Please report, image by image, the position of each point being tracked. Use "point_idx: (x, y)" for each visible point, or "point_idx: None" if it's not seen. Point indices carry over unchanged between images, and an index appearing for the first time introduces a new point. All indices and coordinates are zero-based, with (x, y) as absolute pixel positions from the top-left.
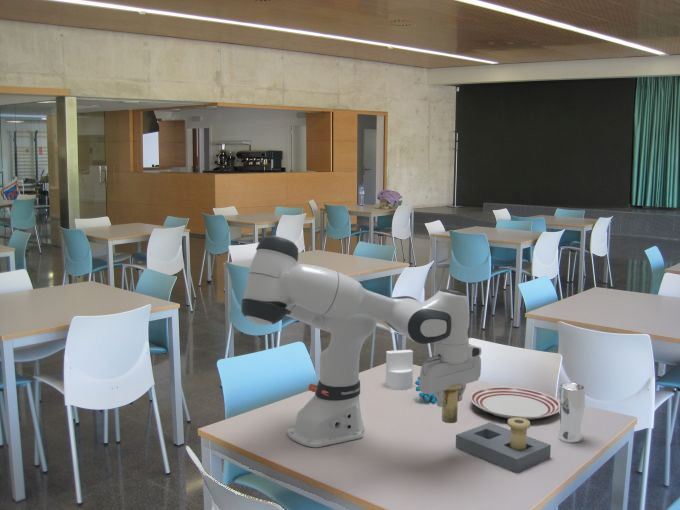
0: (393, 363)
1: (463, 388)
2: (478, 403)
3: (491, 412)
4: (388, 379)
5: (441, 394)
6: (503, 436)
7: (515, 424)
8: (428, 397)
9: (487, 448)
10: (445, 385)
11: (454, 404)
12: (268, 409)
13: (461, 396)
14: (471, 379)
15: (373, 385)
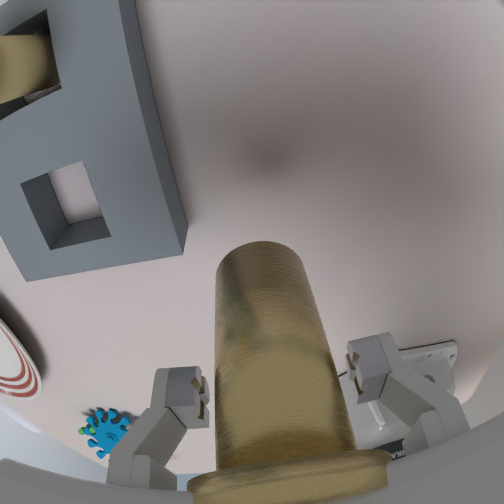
0: None
1: (137, 450)
2: (28, 372)
3: (9, 330)
4: (165, 465)
5: (440, 409)
6: (21, 166)
7: None
8: (121, 423)
9: (137, 88)
10: (461, 484)
11: (281, 334)
12: None
13: (162, 394)
14: (53, 498)
15: (184, 460)
